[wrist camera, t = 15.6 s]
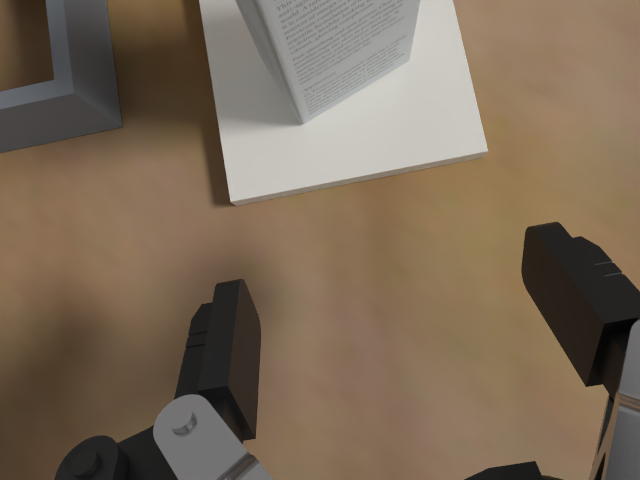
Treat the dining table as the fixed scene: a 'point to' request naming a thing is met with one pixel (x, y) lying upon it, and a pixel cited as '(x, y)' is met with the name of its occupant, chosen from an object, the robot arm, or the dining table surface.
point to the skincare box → (329, 46)
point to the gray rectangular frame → (66, 82)
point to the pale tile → (340, 113)
